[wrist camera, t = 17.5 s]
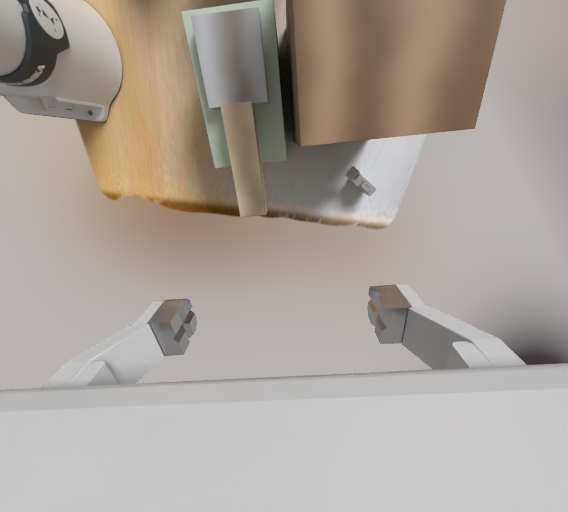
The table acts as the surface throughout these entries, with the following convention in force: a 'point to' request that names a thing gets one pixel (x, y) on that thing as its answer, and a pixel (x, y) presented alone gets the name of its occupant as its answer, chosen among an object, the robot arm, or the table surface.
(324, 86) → the walnut box
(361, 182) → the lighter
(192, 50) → the sage block
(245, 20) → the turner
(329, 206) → the table surface
